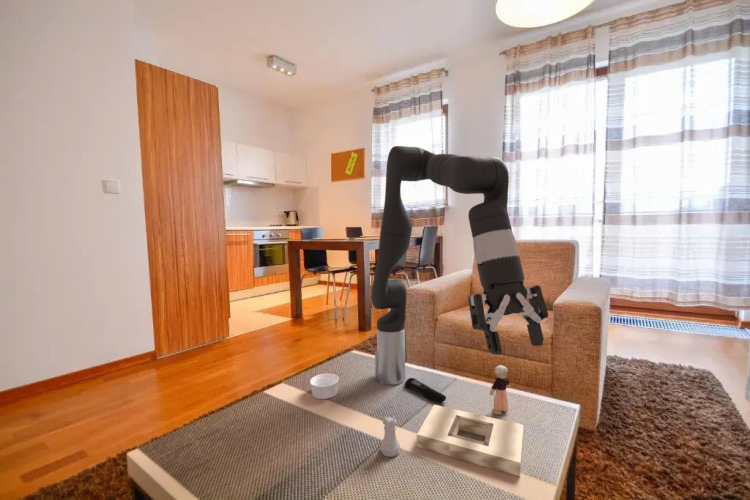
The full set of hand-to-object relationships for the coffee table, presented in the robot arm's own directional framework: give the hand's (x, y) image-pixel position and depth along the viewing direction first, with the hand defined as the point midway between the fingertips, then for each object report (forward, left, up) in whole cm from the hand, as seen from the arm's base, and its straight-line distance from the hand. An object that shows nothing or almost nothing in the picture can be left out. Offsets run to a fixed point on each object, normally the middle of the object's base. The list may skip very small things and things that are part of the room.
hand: (517, 349), depth 58 cm
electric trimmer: (-27, +33, -30) cm, 52 cm away
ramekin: (-56, +21, -30) cm, 66 cm away
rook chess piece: (-27, +5, -30) cm, 40 cm away
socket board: (-11, +16, -29) cm, 35 cm away
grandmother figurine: (-6, +33, -30) cm, 44 cm away
